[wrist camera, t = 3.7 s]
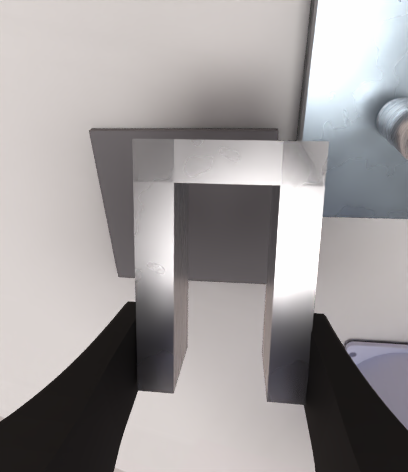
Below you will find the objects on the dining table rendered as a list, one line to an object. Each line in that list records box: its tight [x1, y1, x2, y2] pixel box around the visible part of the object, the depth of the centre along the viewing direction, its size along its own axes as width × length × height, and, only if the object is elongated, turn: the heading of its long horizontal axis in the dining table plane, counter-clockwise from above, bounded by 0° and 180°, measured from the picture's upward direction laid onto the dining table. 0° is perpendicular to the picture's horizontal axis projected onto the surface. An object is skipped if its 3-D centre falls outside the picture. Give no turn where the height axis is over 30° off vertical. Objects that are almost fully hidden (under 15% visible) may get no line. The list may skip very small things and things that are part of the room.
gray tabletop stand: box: [132, 139, 329, 405], centre depth 12 cm, size 8×5×3 cm
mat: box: [89, 129, 278, 284], centre depth 22 cm, size 10×10×1 cm
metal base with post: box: [296, 0, 408, 219], centre depth 15 cm, size 10×8×6 cm
